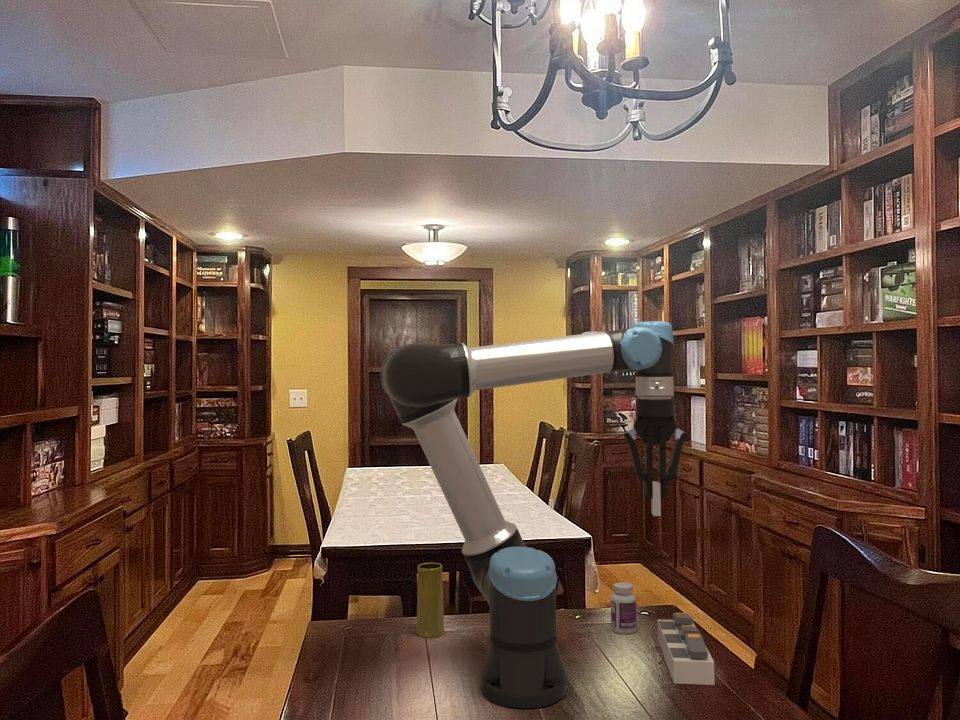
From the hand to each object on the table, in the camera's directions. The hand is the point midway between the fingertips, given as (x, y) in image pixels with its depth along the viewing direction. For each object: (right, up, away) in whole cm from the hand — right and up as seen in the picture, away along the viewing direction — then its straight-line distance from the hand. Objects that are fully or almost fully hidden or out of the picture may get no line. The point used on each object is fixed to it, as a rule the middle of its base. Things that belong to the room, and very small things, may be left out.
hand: (656, 514), depth 145 cm
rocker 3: (+4, -21, -15) cm, 26 cm away
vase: (-46, -27, +8) cm, 54 cm away
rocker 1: (+5, -21, -1) cm, 21 cm away
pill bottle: (-5, -27, +8) cm, 28 cm away
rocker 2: (+4, -21, -8) cm, 23 cm away
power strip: (+3, -26, -8) cm, 28 cm away
